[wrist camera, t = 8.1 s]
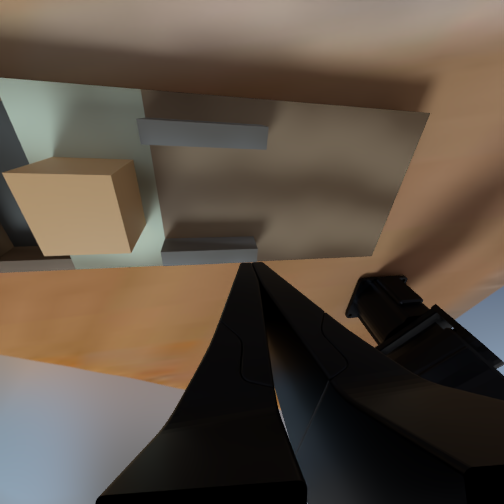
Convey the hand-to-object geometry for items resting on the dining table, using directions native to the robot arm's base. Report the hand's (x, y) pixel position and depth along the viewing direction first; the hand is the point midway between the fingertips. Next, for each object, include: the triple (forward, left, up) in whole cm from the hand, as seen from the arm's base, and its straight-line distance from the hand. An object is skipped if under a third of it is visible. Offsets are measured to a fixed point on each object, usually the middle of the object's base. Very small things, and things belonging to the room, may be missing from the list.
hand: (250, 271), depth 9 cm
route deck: (0, +2, -12) cm, 12 cm away
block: (0, +8, -9) cm, 13 cm away
